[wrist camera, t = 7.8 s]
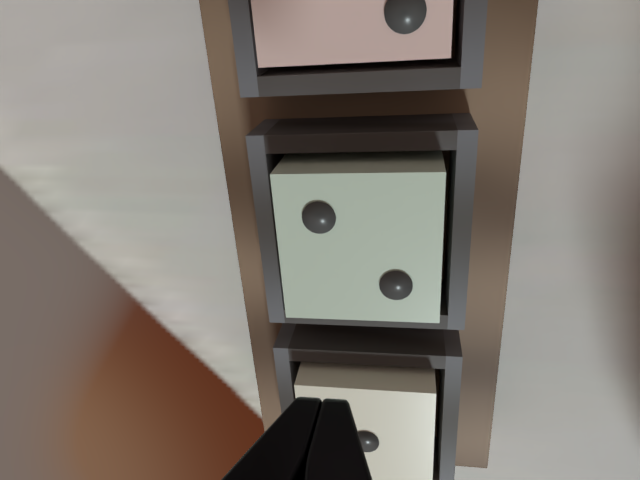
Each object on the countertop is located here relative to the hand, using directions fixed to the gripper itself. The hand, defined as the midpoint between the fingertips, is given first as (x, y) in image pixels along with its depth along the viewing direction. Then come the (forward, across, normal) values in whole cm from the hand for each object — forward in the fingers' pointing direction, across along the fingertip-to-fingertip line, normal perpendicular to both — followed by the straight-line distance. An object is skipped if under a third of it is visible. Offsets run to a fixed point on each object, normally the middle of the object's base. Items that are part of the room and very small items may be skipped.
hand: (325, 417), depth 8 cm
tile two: (+8, 0, 0) cm, 8 cm away
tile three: (+8, 0, -7) cm, 11 cm away
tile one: (+8, 0, +7) cm, 11 cm away
